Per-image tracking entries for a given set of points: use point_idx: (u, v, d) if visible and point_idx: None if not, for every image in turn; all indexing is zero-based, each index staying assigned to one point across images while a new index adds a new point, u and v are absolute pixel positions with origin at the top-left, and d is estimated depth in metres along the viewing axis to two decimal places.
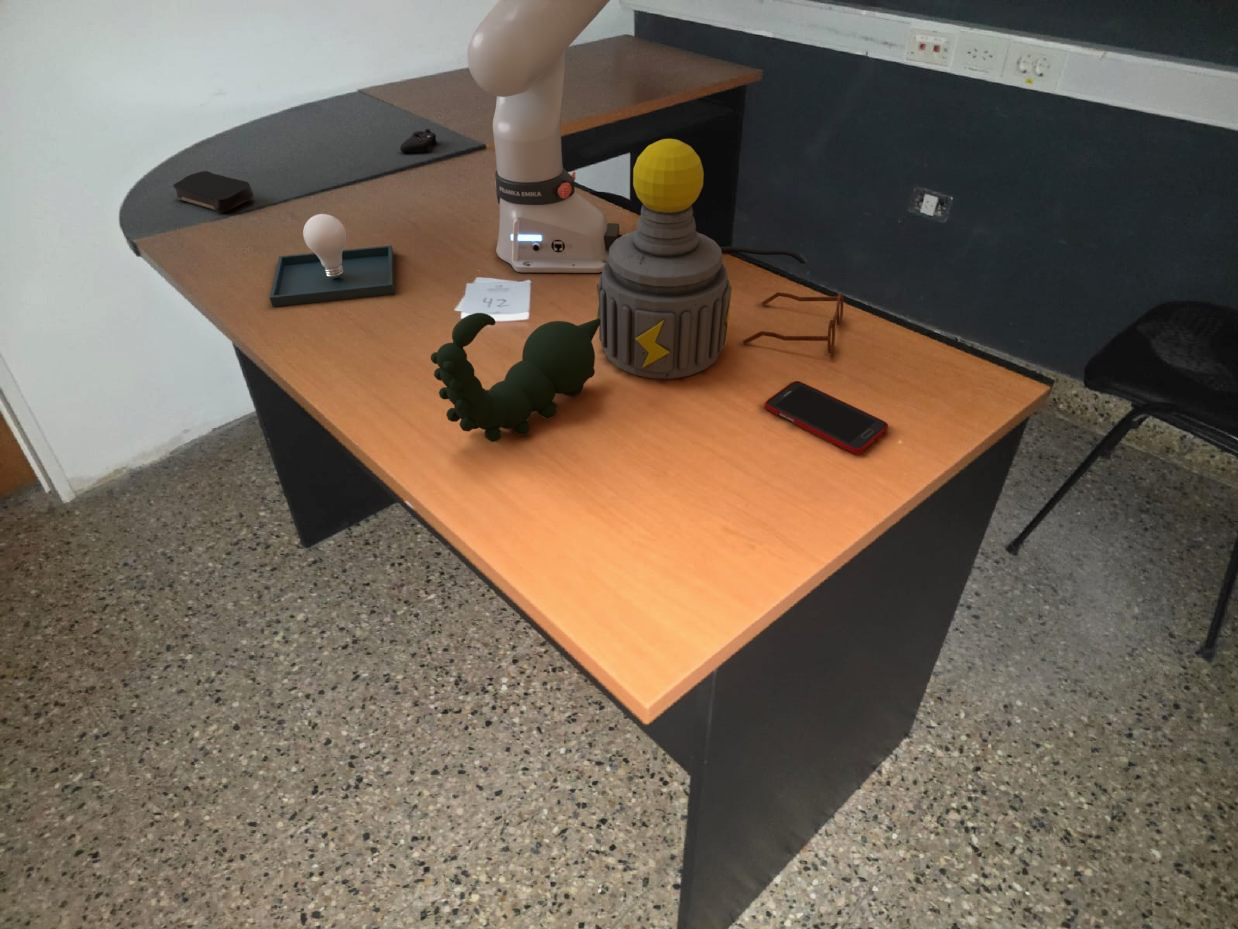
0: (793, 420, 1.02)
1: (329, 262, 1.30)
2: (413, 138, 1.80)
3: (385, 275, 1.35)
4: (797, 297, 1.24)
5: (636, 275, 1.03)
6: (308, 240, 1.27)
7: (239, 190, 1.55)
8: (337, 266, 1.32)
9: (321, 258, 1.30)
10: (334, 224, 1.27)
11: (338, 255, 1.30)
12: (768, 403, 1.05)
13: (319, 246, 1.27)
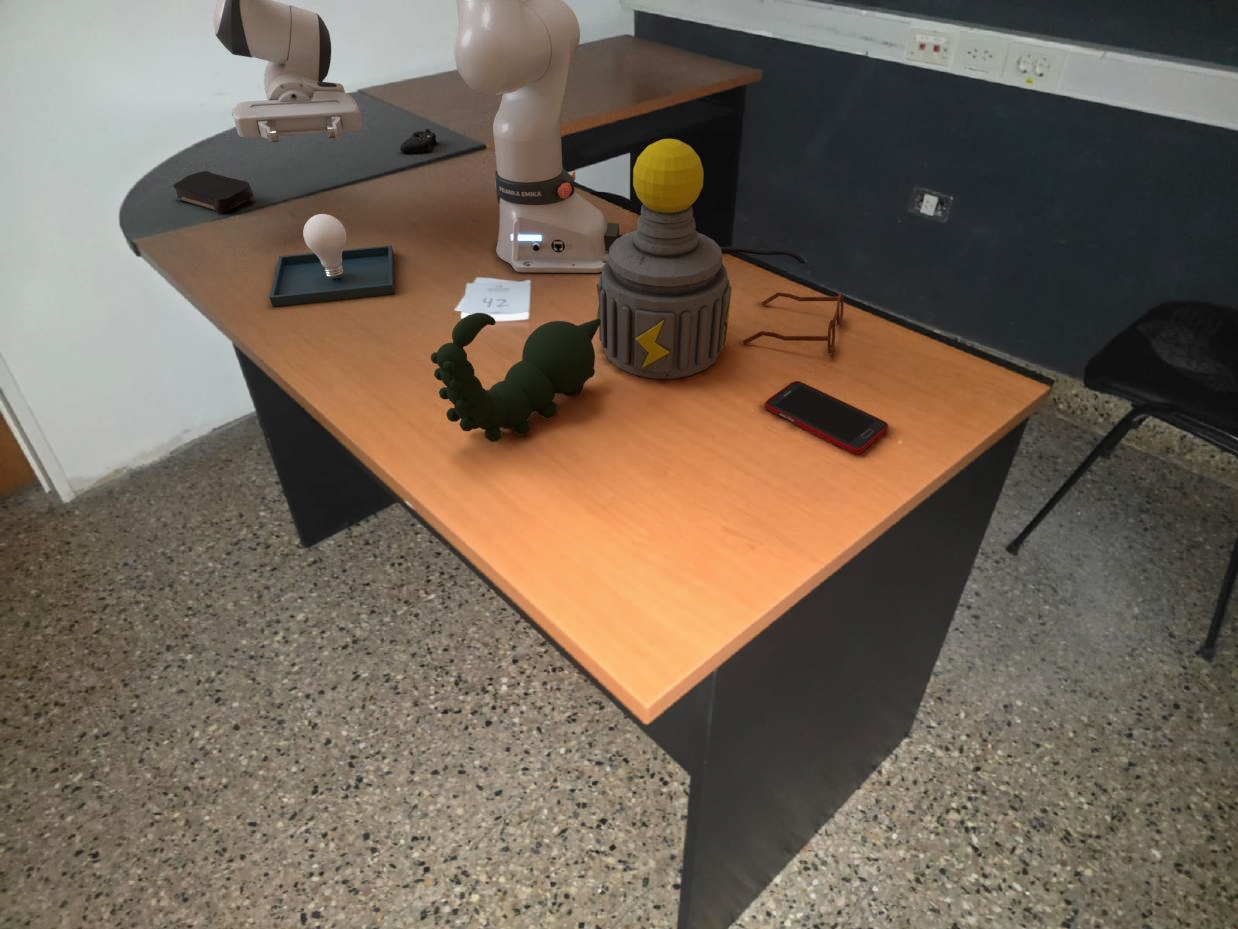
0: (793, 420, 1.02)
1: (329, 262, 1.30)
2: (413, 138, 1.80)
3: (385, 275, 1.35)
4: (797, 297, 1.24)
5: (636, 275, 1.03)
6: (308, 240, 1.27)
7: (239, 190, 1.55)
8: (337, 266, 1.32)
9: (321, 258, 1.30)
10: (334, 224, 1.27)
11: (338, 255, 1.30)
12: (768, 403, 1.05)
13: (319, 246, 1.27)
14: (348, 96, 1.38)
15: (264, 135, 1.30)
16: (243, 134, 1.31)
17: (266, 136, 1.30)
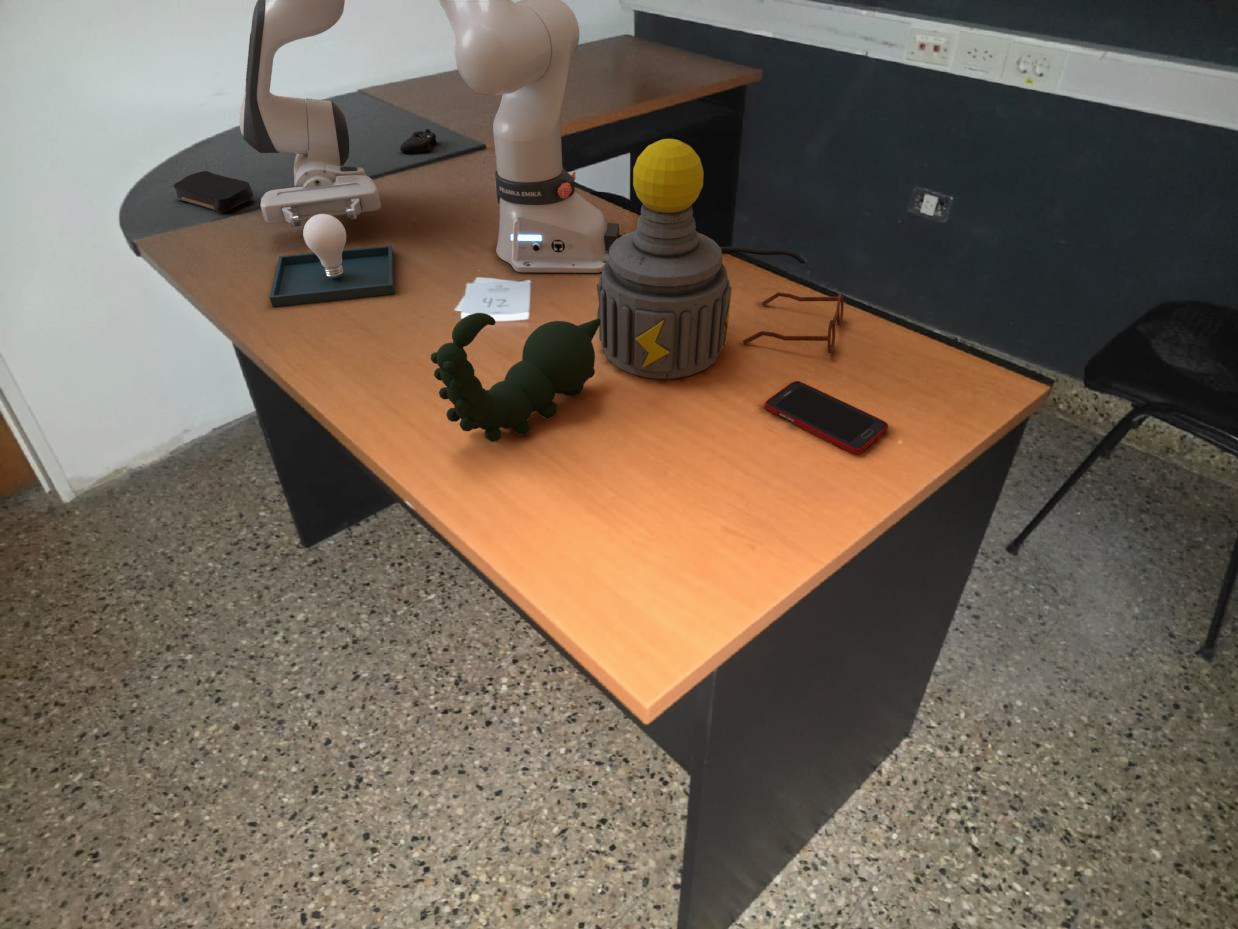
0: (793, 420, 1.02)
1: (329, 262, 1.30)
2: (413, 138, 1.80)
3: (385, 275, 1.35)
4: (797, 297, 1.24)
5: (636, 275, 1.03)
6: (308, 240, 1.27)
7: (239, 190, 1.55)
8: (337, 266, 1.32)
9: (321, 258, 1.30)
10: (334, 224, 1.27)
11: (338, 255, 1.30)
12: (768, 403, 1.05)
13: (319, 246, 1.27)
14: (368, 178, 1.44)
15: (288, 220, 1.37)
16: (269, 220, 1.38)
17: (289, 221, 1.37)
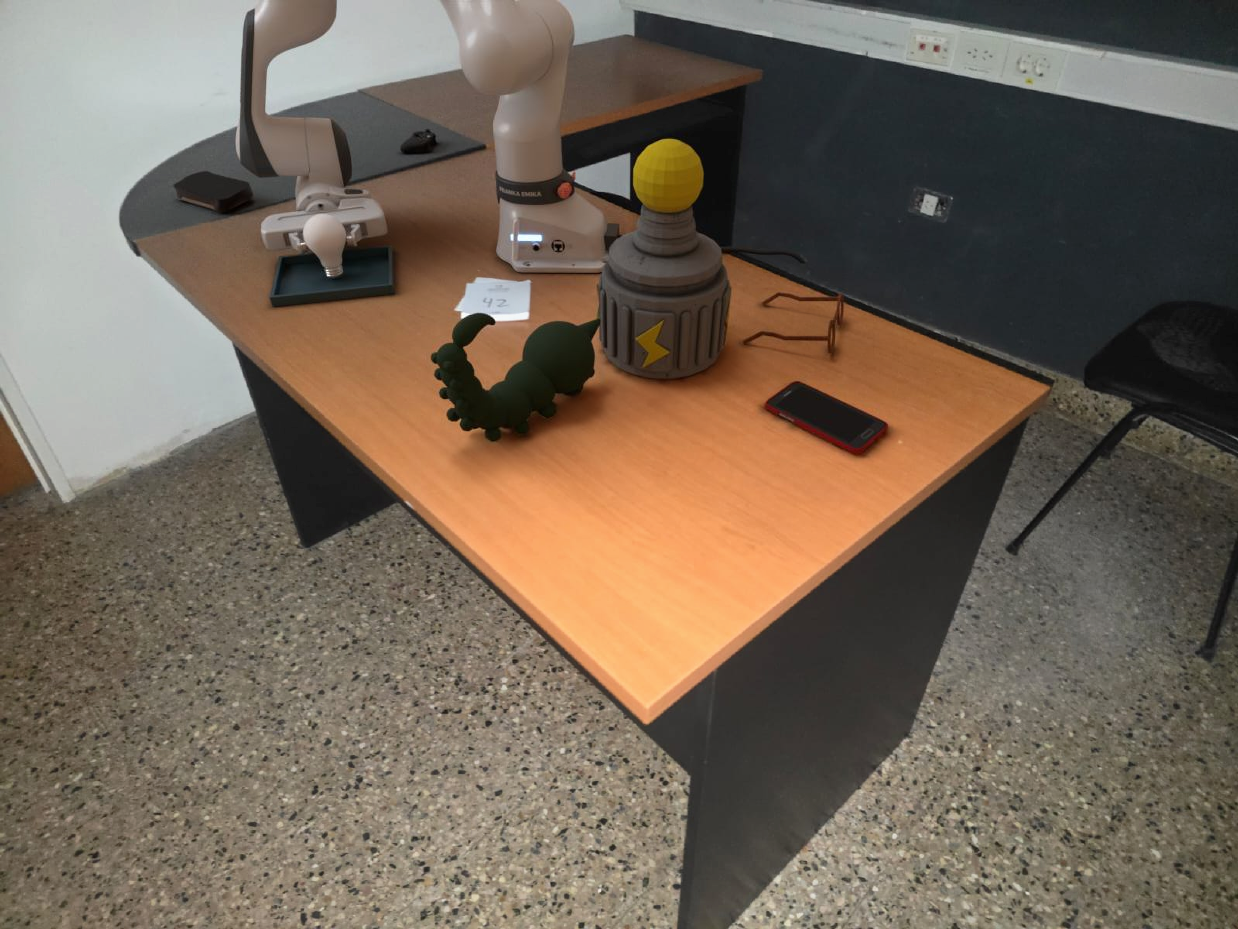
0: (793, 420, 1.02)
1: (329, 262, 1.30)
2: (413, 138, 1.80)
3: (385, 275, 1.35)
4: (797, 297, 1.24)
5: (636, 275, 1.03)
6: (308, 240, 1.27)
7: (239, 190, 1.55)
8: (337, 266, 1.32)
9: (321, 258, 1.30)
10: (334, 223, 1.27)
11: (338, 255, 1.30)
12: (768, 403, 1.05)
13: (319, 246, 1.27)
14: (374, 202, 1.37)
15: (295, 246, 1.30)
16: (270, 247, 1.31)
17: (297, 247, 1.30)
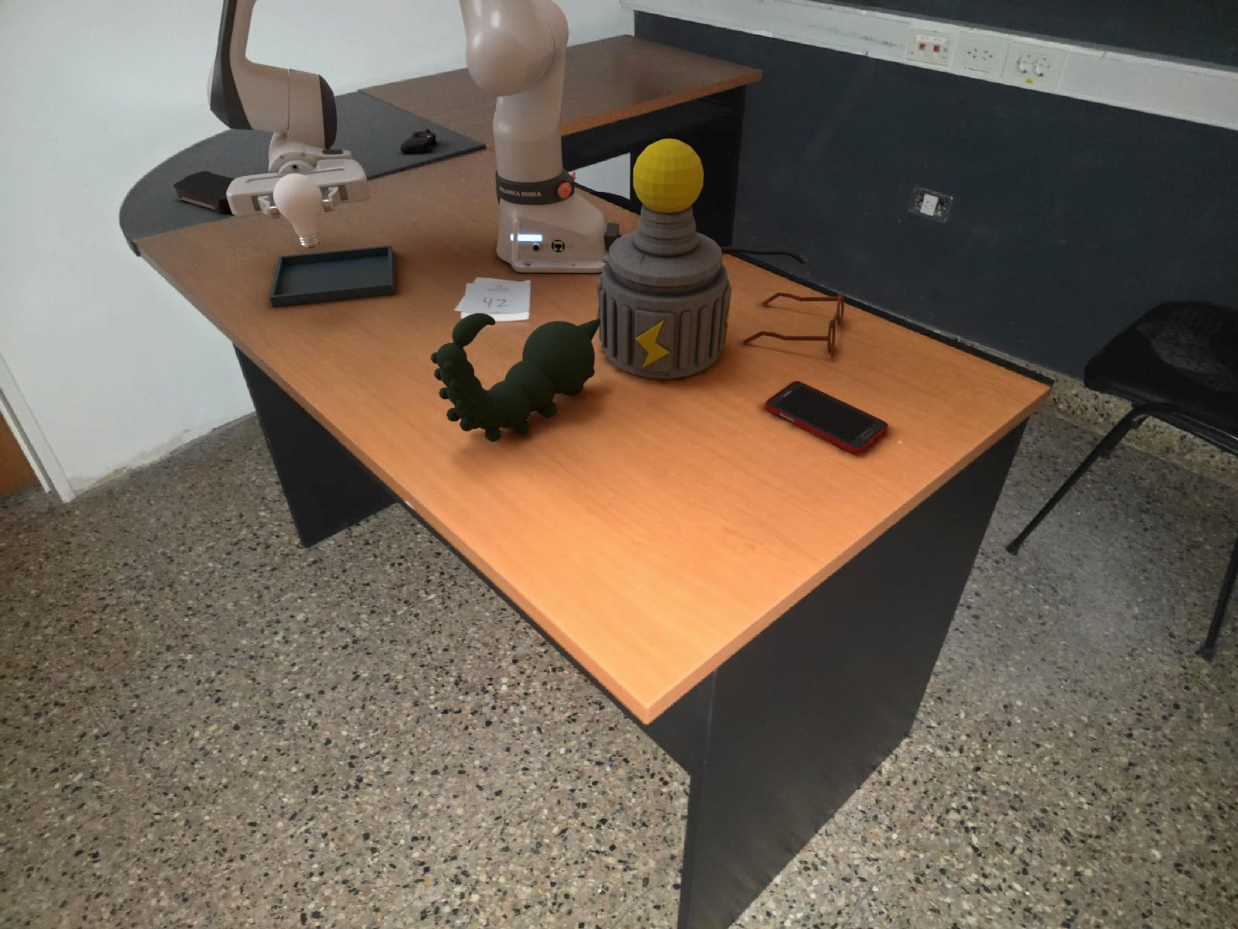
0: (793, 420, 1.02)
1: (303, 229, 1.15)
2: (413, 138, 1.80)
3: (385, 275, 1.35)
4: (798, 297, 1.24)
5: (636, 275, 1.03)
6: (279, 203, 1.12)
7: None
8: (312, 234, 1.17)
9: (294, 224, 1.15)
10: (308, 184, 1.12)
11: (314, 220, 1.15)
12: (768, 403, 1.05)
13: (291, 209, 1.12)
14: (355, 163, 1.22)
15: (265, 211, 1.16)
16: (237, 212, 1.16)
17: (267, 212, 1.15)
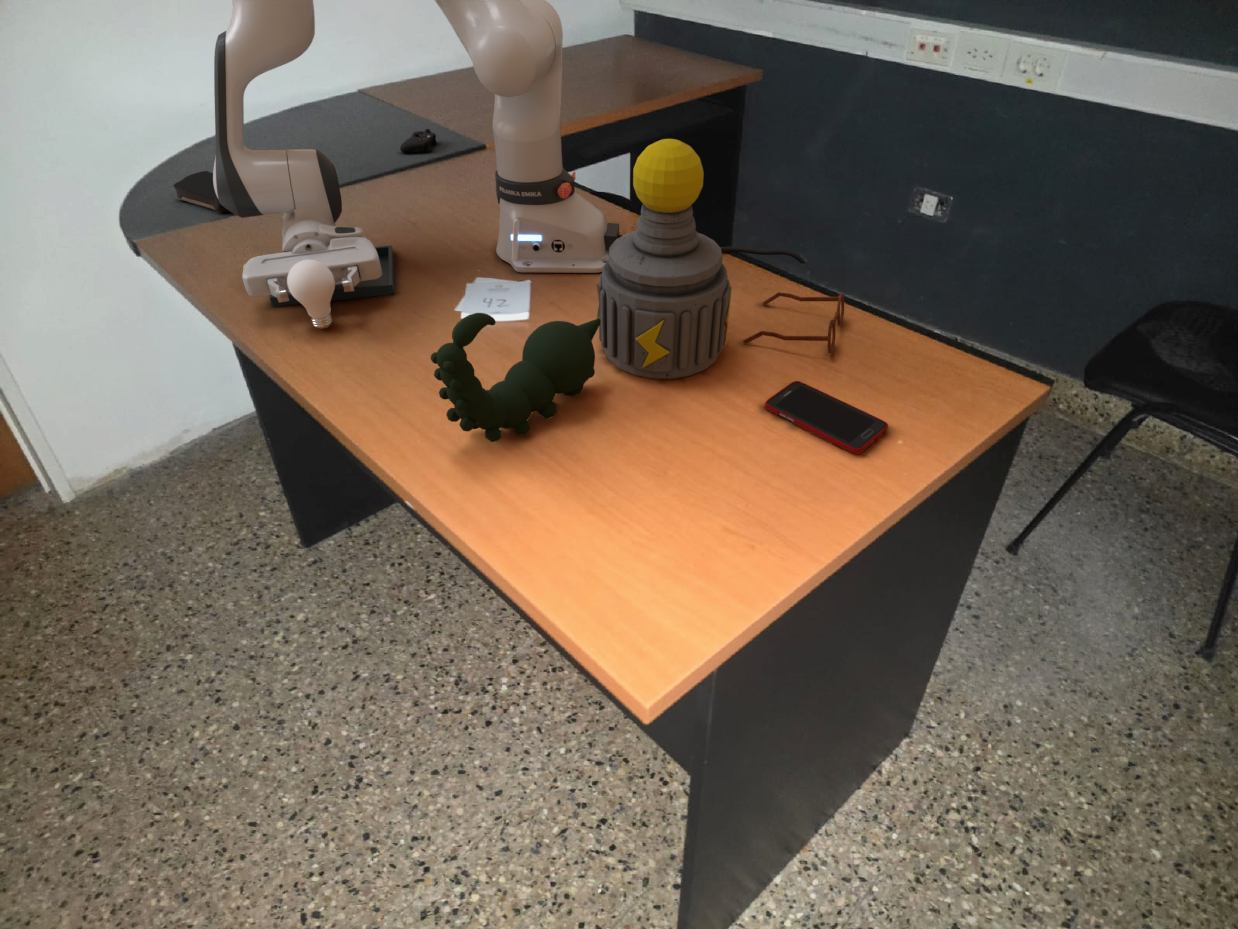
0: (793, 420, 1.02)
1: (316, 312, 1.18)
2: (413, 138, 1.80)
3: (385, 275, 1.35)
4: (798, 297, 1.24)
5: (636, 275, 1.03)
6: (293, 289, 1.15)
7: None
8: (325, 316, 1.20)
9: (307, 307, 1.18)
10: (321, 271, 1.15)
11: (326, 304, 1.18)
12: (768, 403, 1.05)
13: (305, 295, 1.15)
14: (367, 242, 1.25)
15: (274, 294, 1.18)
16: (252, 293, 1.19)
17: (276, 295, 1.18)
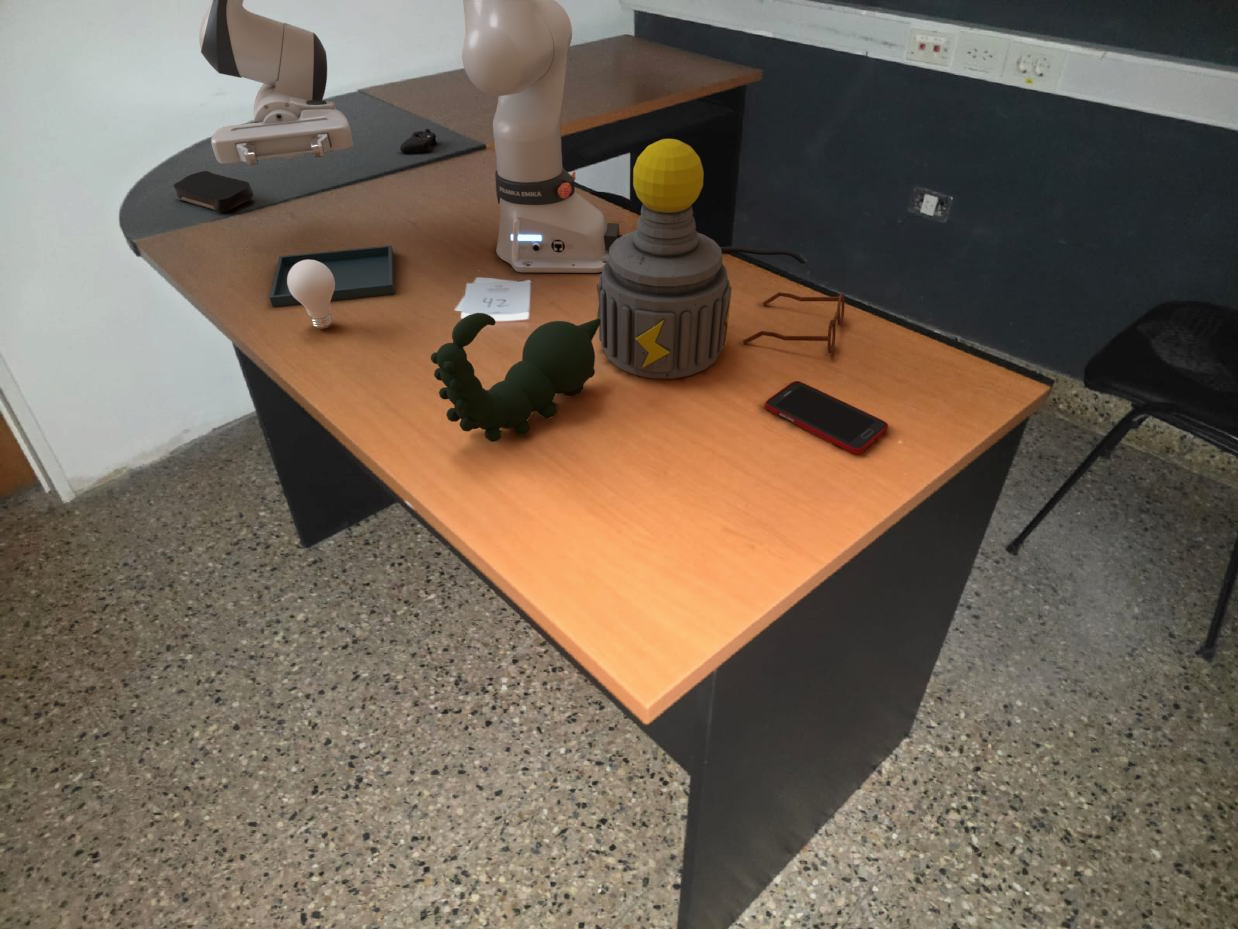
0: (793, 420, 1.02)
1: (316, 312, 1.18)
2: (413, 138, 1.80)
3: (385, 275, 1.35)
4: (798, 297, 1.24)
5: (636, 275, 1.03)
6: (293, 289, 1.15)
7: (239, 190, 1.55)
8: (325, 316, 1.20)
9: (307, 307, 1.18)
10: (321, 271, 1.15)
11: (326, 304, 1.18)
12: (768, 403, 1.05)
13: (305, 295, 1.15)
14: (338, 113, 1.24)
15: (243, 158, 1.17)
16: (222, 159, 1.18)
17: (245, 159, 1.17)
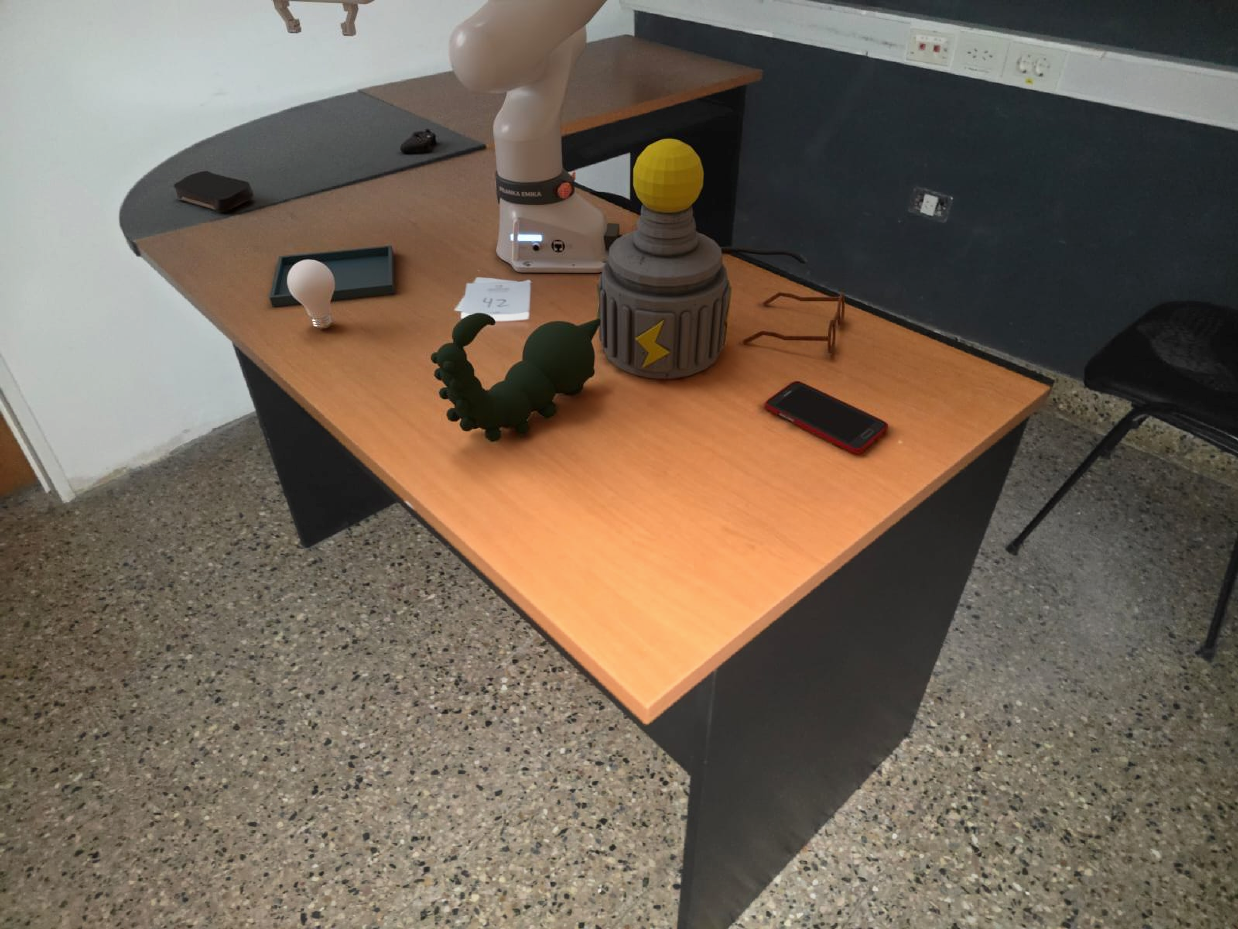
0: (793, 420, 1.02)
1: (316, 312, 1.18)
2: (413, 138, 1.80)
3: (385, 275, 1.35)
4: (798, 297, 1.24)
5: (636, 275, 1.03)
6: (293, 289, 1.15)
7: (239, 190, 1.55)
8: (325, 316, 1.20)
9: (307, 307, 1.18)
10: (321, 271, 1.15)
11: (326, 304, 1.18)
12: (768, 403, 1.05)
13: (305, 295, 1.15)
14: None
15: None
16: None
17: None
